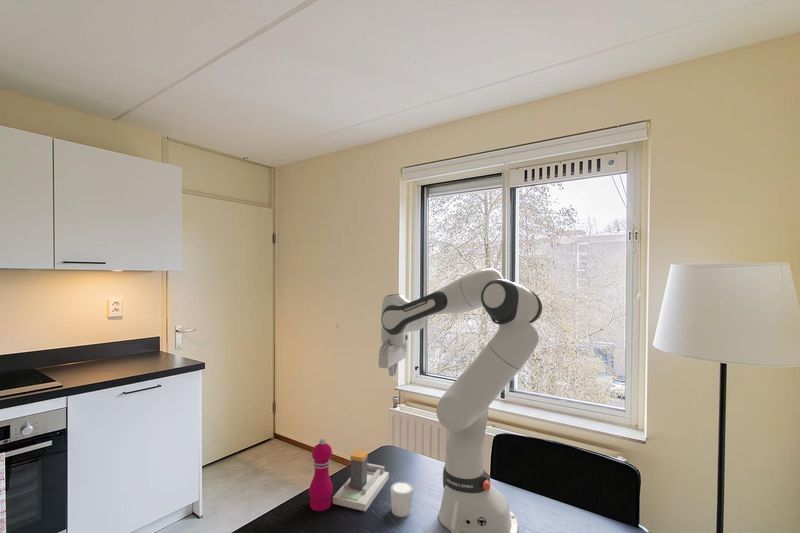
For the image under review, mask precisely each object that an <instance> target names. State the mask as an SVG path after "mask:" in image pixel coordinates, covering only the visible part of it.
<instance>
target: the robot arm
mask: <svg viewBox="0 0 800 533" xmlns="http://www.w3.org/2000/svg"><path fill="white" fill-rule="evenodd" d="M481 307H483V308H484V310H485V311H486V312H487V314H488V315H489V317H490V319H491V321H492V323H493V324H496V325H498V330H497V332H495V334H494V335H493V336H492V338H491V339H490V340H489V341H488V343H487V344H486V345H485V347H484V348H483V349H482V350H481V351H480V353H479V354H478V355H477V356H476V358H474V360H473V361H472V362H471V364H470V365H469V366H468V367H467V368H466V369H465V370H464V371H463V372H462V373H461V374H460V375H459V377H457V379H456V380H455V381H454V382H453V383H452V385H450V387H449V388H448V389H447V390H446V391H445V393H443V395H442V396H441V398H440V399H439V401H438V403H437V405H436V410H435V411H436V417H437V419H438V422H439V424H440V425H441V426H442V427H443V428H444V429H446V430H448V432H447V435H446V438H445V445H444V446H445V448H444V449H445V454H444V456H445V458H444V467H443V470H442V487H443V493H442V498H441V505H440V508H439V510H438V519H439V522H440V523H441V525H442V526H444V527H445V528H446V529H447V530H448V531H449V532H450V533H519V524H518V519H517V517H516V515H515V514H514V513H513V512H512V511H511V510H510V507H509V503H508V501H507V498H506V497H505V496H504V495H503V494H502V492H499V490H497V489H496V488H495V487H494V486H493V485H491V476H490V475H491V474H490V471H489V470H488V471H486V470H484V449H485V448H484V447H485V444H484V443H485V437H486V432H487V424H488V417H489V406H490V405H491V404H492V403H493V402H494V401H495V399H496V398H497V397H498V396H499V395H500V394H501V393H502V391H504V389H506V387H507V386H508V384H509V383H510V382H511V381H512V380H513V379H514V377H515V376H516V375H517V374H518V373H519V371H520V370H521V369H522V368H523V367H524V365H525V364H526V363H527V362H528V360H530V357H531V356H532V354H533V353H534V352H535V351H534V350H536V347H537V345H538V344H539V341H540V338H539V334H538V332H537V330H536V328H535V327H534V326H533V325H532V324H533V323H534V322H536V321H538V319H539V318H540V317H541V315H542V312H543V302H542V301H541V299H540V298H539V296H538V295H537V294H536V293H535V292H533V291H532V290H529V289H527V288H526V287H525V286H523V285H522V284H519V283H516V282H513V281H510V280H509V279H504V277H503V275H502V274H501V272H500V271H498V270H497V269H495V268H491V267H490V268H484V269H483V268H482V269H480V270H476V271H473V272H470V273H468V274H466V275H464V276H461V277H459V278H457V279H456V280H454V281H451V282H449V283H448V284H447V285H444V286H443V287H441V288H439V289H437V290H435V291H433V292H431V293H430V294H427V295H424V296H423V297H420V298H417V299H414V300H412V301H411V300H409V299H407V298H406V296H405V295H404V294H401V293H395V294H394V293H393V294H389V295H385V296H384V297H383V300H382V304H381V317H380V319H381V321H380V323H381V329H380V331H381V333H380V334H381V335H380V336H381V337H380V343H381V346H380V347H379V352H378V367H379V368H381V369H388V376H389V377H394V376H395V375H396V374H397V369H398V364H399V362H401V361H402V360H403V359H405V358H406V355H407V343H408V342H407V341H408V340H409V334H407V333H411V332H416V331H420V330H423V329H424V328H425V327H426V325H427V323H428V317H430V316H434V315H435V316H436V315H446V314H447V315H448V314H462V313H467V312H472V311H475V310H477V309H480V308H481Z"/></svg>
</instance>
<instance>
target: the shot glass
mask: <svg viewBox="0 0 800 533" xmlns="http://www.w3.org/2000/svg"><path fill="white" fill-rule="evenodd" d="M413 495H414V487H413V485H412V484H411V483H409V482H406V481H397V482H394V483H393V484H391V485H390V499H391V500H390V502H391V512H392V515H394V516H396V517H399V518H405V517H407V516H409V515H410V514H411V512H412V503H413Z"/></svg>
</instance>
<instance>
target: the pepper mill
mask: <svg viewBox="0 0 800 533" xmlns="http://www.w3.org/2000/svg"><path fill="white" fill-rule="evenodd" d="M311 452H312V453H311V455H312V456H311V457H312V459H313V467H314V474H313V478H312V480H311V483H310V484H309V488H308V495H309V497H310V500H309V501H310V503H309V508H311V510H312V511H315V512H323V511H326V510H328V509H329V508H330V507H331V505H332V495H333V492H334V486H333V482H332V480H331V477H330V473H329V466H331V457H332V455H333V449H332V447H331V445H330V444H328V443H326V439H324V438H321V439H320V440H319V442H318V444H315V445H314V447H313V449H312V451H311Z"/></svg>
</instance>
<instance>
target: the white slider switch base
mask: <svg viewBox="0 0 800 533" xmlns="http://www.w3.org/2000/svg"><path fill="white" fill-rule="evenodd" d="M389 474H390V472H388V471H385V465H379V464H373V463H369V462H367V483H366V484H365V486H364V487H363V488H362V490H358V489H353V488H350V477H349V478H348V479H347V481H346V482H345V483H344V484H343V485H342V486H341V487H340V488H339V490H337V492H335V494H334V495H333V496H332V505H337V506H341V507H346V508H349V509H354V510H359V511H361V512H362V511H363V512H366V511H367V510H368V508H369V507H370V506H371V504H372V502H374V499H376V497H377V496H378V494H379V493H380V492H381V490H382V489H383V487H384V486H385V484H386V483H387V481H388V480H389V479H388V478H390V477H389V476H390V475H389Z"/></svg>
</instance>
